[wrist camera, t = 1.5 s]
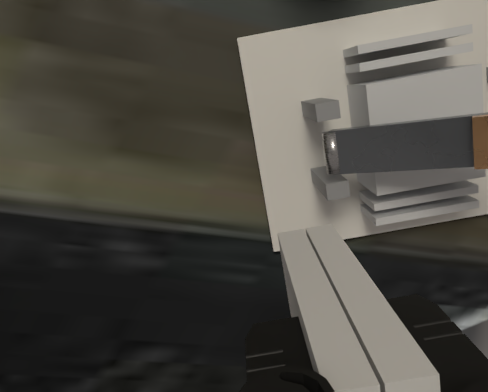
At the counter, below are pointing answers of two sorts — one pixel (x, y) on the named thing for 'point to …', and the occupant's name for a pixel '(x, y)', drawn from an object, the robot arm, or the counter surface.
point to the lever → (409, 145)
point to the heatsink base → (324, 76)
